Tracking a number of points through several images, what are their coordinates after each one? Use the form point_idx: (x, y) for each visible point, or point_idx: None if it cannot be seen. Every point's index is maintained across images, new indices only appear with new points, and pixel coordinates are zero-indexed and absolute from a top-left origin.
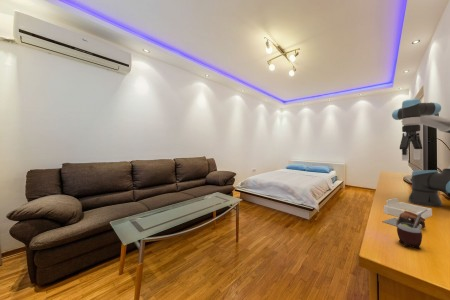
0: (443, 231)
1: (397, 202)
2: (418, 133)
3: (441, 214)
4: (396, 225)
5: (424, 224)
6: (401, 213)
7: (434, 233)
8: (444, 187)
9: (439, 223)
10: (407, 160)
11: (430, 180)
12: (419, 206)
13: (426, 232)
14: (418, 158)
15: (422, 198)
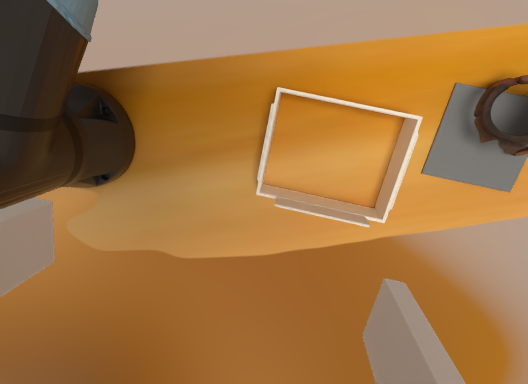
0: (464, 35)
1: (279, 197)
2: None
3: (215, 69)
4: None
5: (511, 79)
6: (518, 149)
7: (515, 53)
8: (81, 45)
9: (362, 57)
10: (402, 289)
11: (35, 114)
12: (272, 127)
13: (524, 72)
14: (35, 220)
15: (111, 139)
